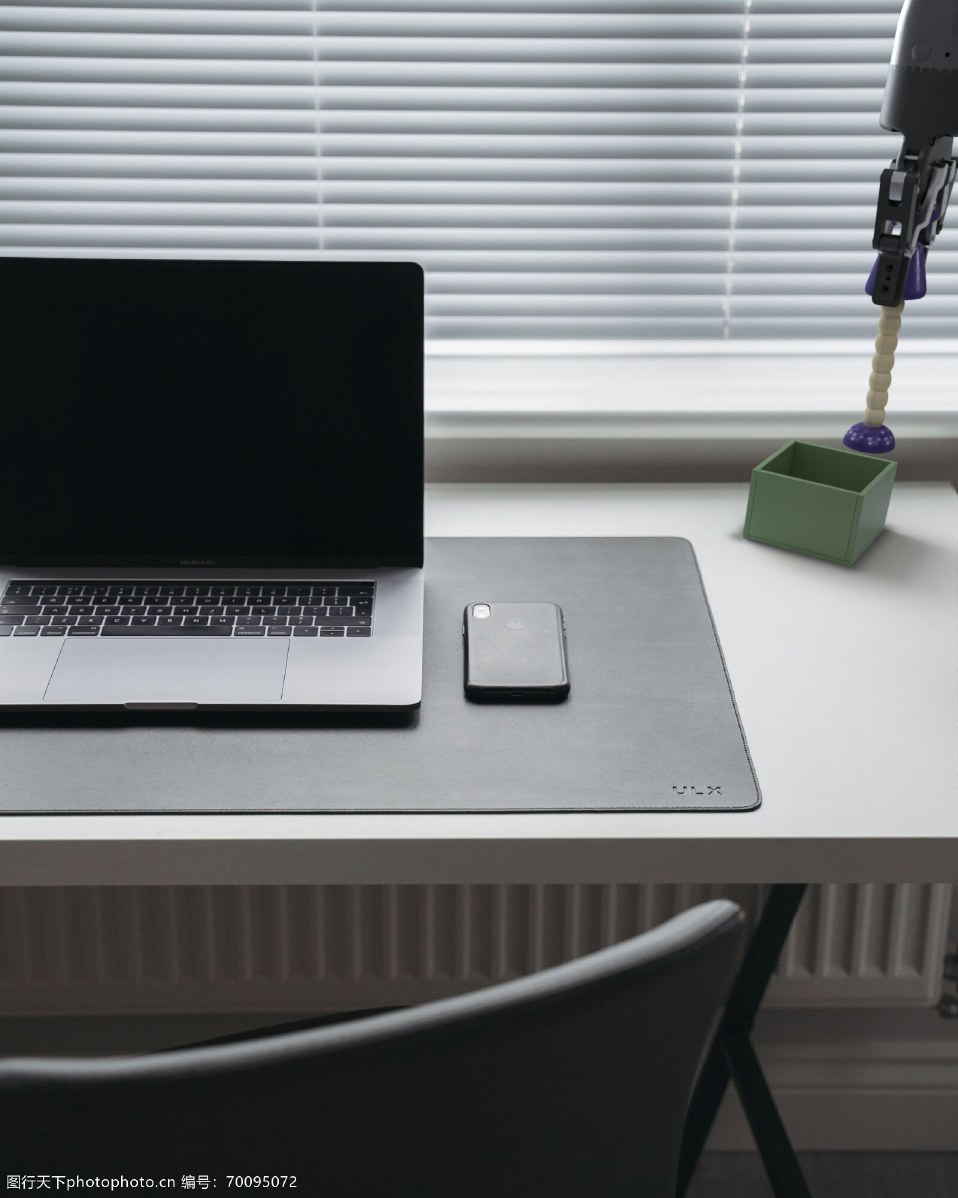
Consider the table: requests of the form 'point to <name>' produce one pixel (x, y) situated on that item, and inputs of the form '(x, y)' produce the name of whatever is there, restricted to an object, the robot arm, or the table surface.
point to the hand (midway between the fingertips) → (895, 297)
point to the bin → (819, 501)
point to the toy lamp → (885, 363)
